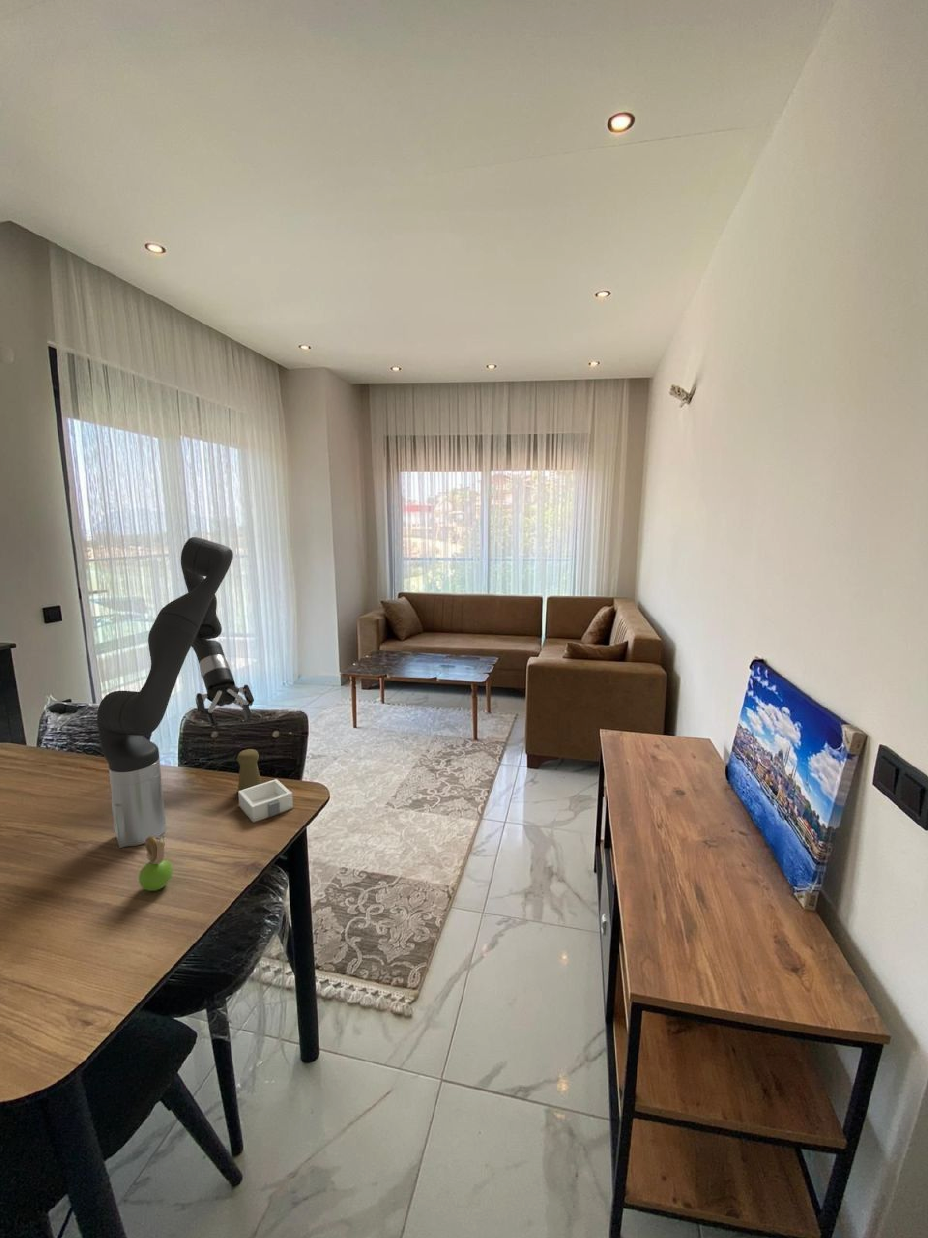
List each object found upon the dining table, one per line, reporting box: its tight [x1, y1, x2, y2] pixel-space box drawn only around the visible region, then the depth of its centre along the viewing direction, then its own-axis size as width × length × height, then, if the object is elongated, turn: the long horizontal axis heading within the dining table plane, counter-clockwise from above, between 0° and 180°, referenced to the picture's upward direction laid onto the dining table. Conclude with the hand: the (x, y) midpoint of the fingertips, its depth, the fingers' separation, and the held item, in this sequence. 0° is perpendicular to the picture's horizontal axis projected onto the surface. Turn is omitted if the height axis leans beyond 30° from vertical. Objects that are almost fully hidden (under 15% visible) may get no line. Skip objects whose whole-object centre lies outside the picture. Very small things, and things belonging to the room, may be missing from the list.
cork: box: [236, 748, 262, 792], centre depth 128 cm, size 6×6×11 cm
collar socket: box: [237, 778, 294, 823], centre depth 121 cm, size 10×11×4 cm
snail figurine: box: [138, 834, 173, 892], centre depth 92 cm, size 5×6×12 cm
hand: (232, 722), depth 135 cm, fingers open, 8 cm apart
